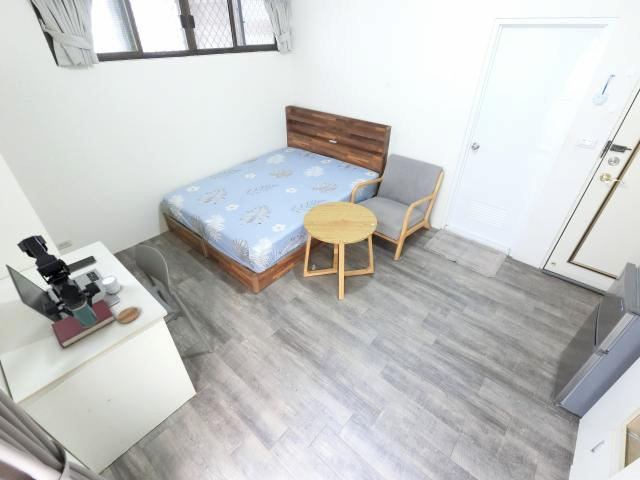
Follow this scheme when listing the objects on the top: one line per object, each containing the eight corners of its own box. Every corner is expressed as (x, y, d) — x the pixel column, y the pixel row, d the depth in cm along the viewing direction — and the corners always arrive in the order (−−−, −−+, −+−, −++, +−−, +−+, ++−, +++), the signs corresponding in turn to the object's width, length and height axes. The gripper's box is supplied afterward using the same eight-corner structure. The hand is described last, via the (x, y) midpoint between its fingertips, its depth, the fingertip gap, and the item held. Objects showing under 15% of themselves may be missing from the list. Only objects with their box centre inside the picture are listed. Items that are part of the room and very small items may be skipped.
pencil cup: (69, 306, 134) (63, 302, 123) (86, 298, 138) (82, 294, 127) (85, 331, 134) (81, 330, 124) (101, 322, 138) (99, 320, 127)
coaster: (113, 320, 142) (113, 319, 141) (128, 306, 148) (128, 305, 148) (128, 325, 139) (128, 324, 139) (143, 310, 146) (143, 309, 146)
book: (54, 328, 138) (51, 324, 136) (105, 302, 150) (102, 298, 148) (63, 348, 130) (59, 344, 128) (115, 319, 142) (113, 315, 140)
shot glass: (115, 295, 154) (109, 285, 150) (103, 293, 155) (97, 283, 151) (124, 286, 160) (119, 276, 155) (113, 284, 161) (107, 274, 157)
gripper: (39, 309, 111) (61, 335, 120) (96, 283, 122) (112, 309, 131) (33, 294, 117) (55, 320, 126) (88, 270, 128) (104, 296, 137)
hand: (82, 311), depth 130 cm, fingers closed on pencil cup, 6 cm apart
